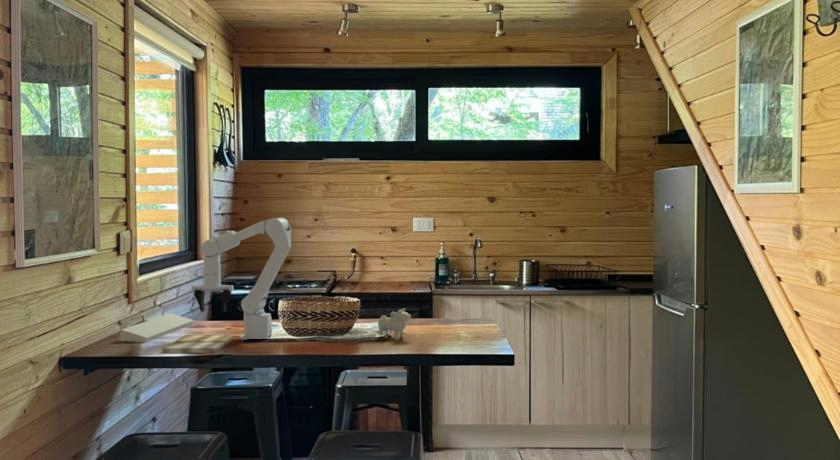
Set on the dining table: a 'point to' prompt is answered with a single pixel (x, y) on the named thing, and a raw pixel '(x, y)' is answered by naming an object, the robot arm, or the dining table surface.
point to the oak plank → (206, 338)
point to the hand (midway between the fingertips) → (213, 311)
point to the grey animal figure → (394, 323)
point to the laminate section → (193, 347)
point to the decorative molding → (154, 328)
